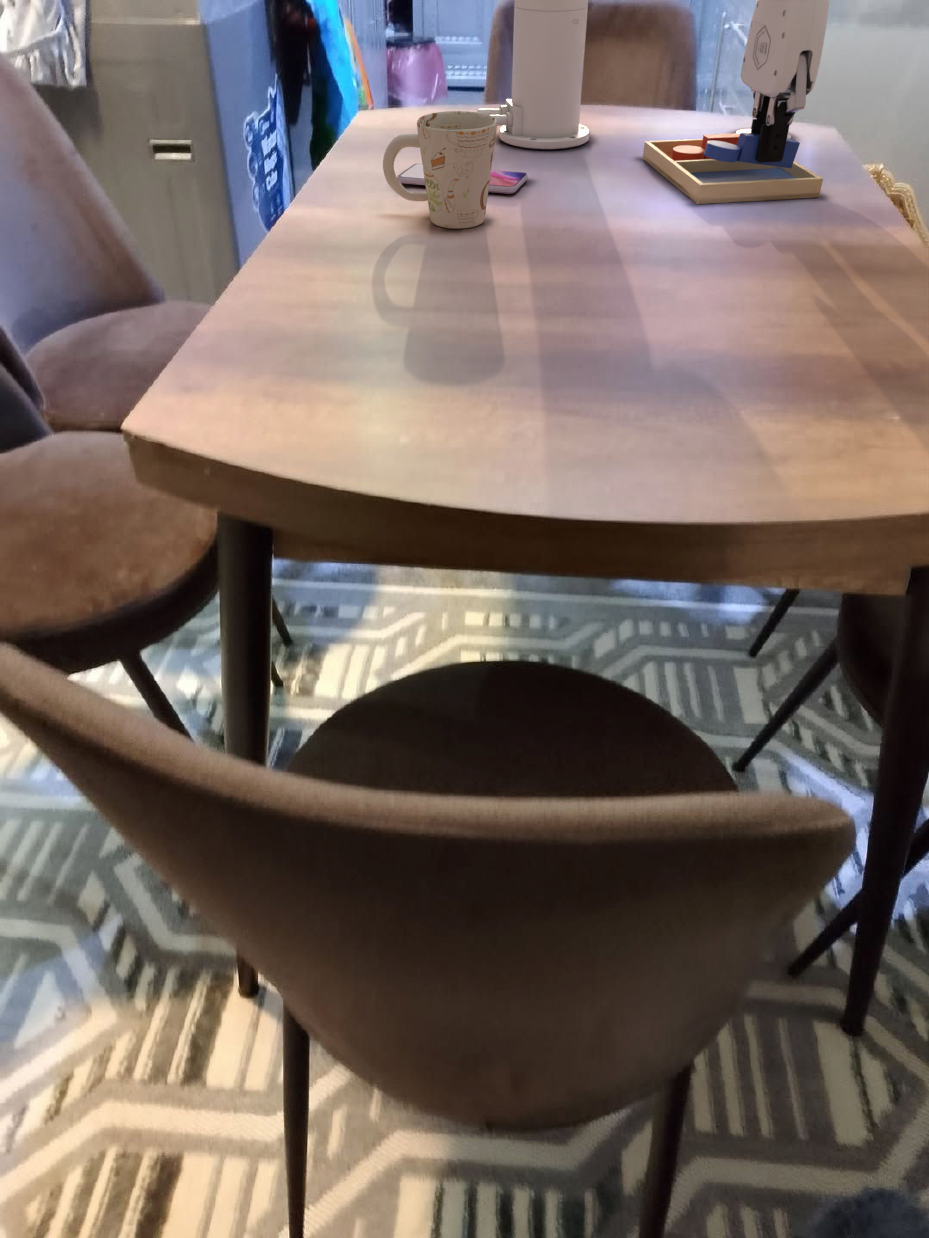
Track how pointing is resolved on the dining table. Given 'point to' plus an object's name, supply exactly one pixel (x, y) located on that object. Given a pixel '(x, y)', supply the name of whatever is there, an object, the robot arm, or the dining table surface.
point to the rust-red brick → (697, 152)
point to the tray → (729, 176)
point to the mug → (449, 165)
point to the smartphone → (498, 182)
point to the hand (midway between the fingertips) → (764, 157)
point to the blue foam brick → (748, 151)
